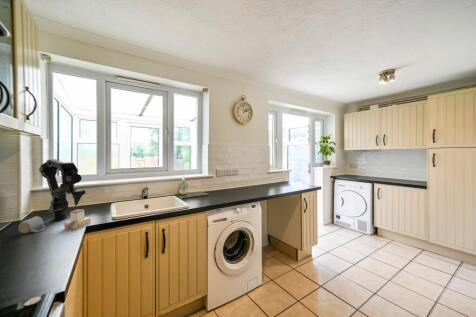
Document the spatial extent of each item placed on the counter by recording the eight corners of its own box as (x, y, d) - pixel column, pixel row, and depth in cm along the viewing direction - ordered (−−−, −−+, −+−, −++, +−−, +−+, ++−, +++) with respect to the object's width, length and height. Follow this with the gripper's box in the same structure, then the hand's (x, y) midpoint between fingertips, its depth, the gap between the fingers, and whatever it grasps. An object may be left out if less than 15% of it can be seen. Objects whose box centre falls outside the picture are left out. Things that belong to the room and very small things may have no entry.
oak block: (64, 229, 118) (64, 223, 118) (77, 223, 127) (76, 217, 127) (79, 229, 118) (78, 222, 118) (90, 223, 127) (90, 217, 127)
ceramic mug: (17, 234, 112) (16, 221, 112) (32, 228, 120) (31, 216, 120) (35, 234, 112) (34, 221, 111) (49, 228, 120) (48, 216, 120)
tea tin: (70, 221, 120) (70, 211, 120) (78, 218, 125) (77, 209, 125) (77, 221, 120) (77, 211, 119) (84, 218, 124) (84, 209, 124)
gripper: (41, 184, 119) (43, 208, 120) (69, 184, 117) (71, 209, 118) (59, 180, 130) (61, 203, 131) (85, 181, 128) (86, 204, 129)
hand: (69, 205), depth 127 cm, fingers open, 9 cm apart
